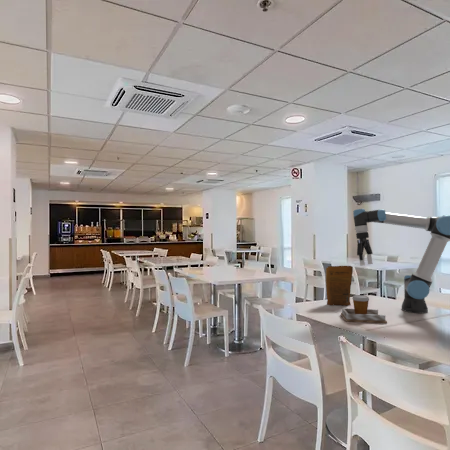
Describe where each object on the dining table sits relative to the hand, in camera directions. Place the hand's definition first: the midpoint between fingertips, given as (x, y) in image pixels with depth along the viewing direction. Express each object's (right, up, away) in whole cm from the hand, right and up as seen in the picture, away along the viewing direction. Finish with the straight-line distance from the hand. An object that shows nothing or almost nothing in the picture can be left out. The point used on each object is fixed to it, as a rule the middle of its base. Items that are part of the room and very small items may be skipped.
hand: (366, 264), depth 223 cm
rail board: (-11, -30, -20) cm, 37 cm away
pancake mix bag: (-12, -31, +19) cm, 38 cm away
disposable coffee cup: (-11, -29, -19) cm, 37 cm away
